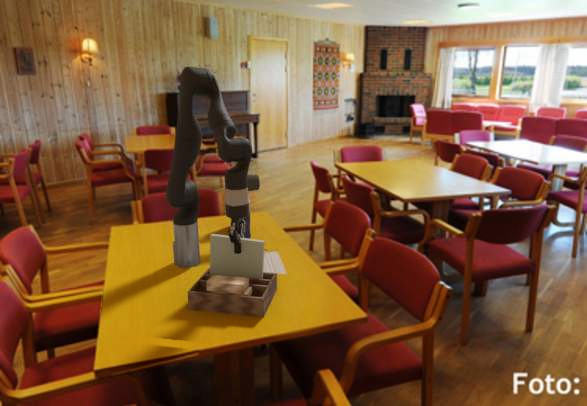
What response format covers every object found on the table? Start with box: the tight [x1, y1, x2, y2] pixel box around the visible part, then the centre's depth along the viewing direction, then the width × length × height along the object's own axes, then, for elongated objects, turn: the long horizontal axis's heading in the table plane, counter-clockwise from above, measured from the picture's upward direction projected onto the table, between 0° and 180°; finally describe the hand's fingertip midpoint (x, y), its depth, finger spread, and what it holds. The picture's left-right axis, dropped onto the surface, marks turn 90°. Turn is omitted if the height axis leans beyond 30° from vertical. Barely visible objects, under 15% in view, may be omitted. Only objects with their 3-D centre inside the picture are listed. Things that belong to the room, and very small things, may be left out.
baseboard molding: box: [263, 248, 288, 275], centre depth 167 cm, size 31×3×12 cm
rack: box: [187, 267, 278, 318], centre depth 141 cm, size 24×18×8 cm
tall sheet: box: [209, 233, 266, 279], centre depth 145 cm, size 18×2×18 cm, turn 79°
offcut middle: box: [210, 287, 252, 296], centre depth 136 cm, size 12×5×3 cm, turn 79°
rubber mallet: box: [244, 174, 261, 239], centre depth 194 cm, size 12×8×30 cm, turn 105°
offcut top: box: [206, 275, 249, 294], centre depth 135 cm, size 12×5×3 cm, turn 79°
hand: (238, 251), depth 144 cm, fingers closed on tall sheet, 1 cm apart
